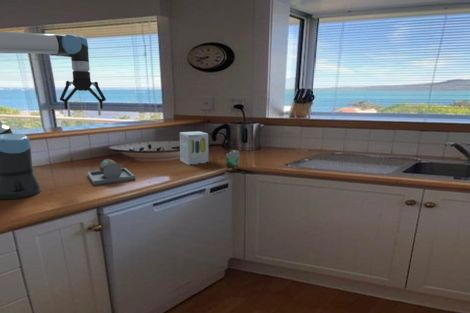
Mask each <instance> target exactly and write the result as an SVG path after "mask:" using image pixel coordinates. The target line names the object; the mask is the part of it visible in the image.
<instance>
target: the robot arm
mask: <svg viewBox="0 0 470 313" xmlns="http://www.w3.org/2000/svg"><path fill="white" fill-rule="evenodd" d="M88 45H89V44H88V39H87V38H86V37H85V36H81V35H80V36H79V35H75V34H70V33H68V34H54V33H53V34H51V33H32V32H15V31H0V54H28V55H29V54H34V55H35V54H36V55H37V54H39V55H40V54H41V55H42V54H44V55H45V56H50V57H53V56H54V57H55V56H56V57H64V58H65V57H67V58H71V59H70V60H71V69H72V81H69V80H66V81H65V87H64V88H63V91H62V93H61V95H60V97H59V101H60V102H63V104H64V109H65V110H67V116H68V117H71V108H70V102H69V100H70V99H71V98H72V97H73V95H74V94H75V93H76V92H77V91H79V92H81V91H83V92H87V91H88V92H89V93H90V94H91V95H92V96H93V97H94V98H95V99H96V100H97V115H98V116H102V114H101V113H102V111H101V110H102V109H103V102H105V101H107V99H106V97H105V94H104V93H103V92H102V90H101V89H100V87H99V83H98V81H95V82H94V81H91V72H90V68H91V67H90V59H89V58H90V57H89V46H88ZM71 85H72V86H73V89H72V90H71V91H70V93H69V94H68V95H67V92H68V90H69V87H71ZM91 86H93V87H94V88H95V89H96V92H98V94H99V96H98V95H97V93H96V92H95V91H94V90H93V88H91ZM66 95H67V96H66ZM65 96H66V97H65ZM31 146H32V145H31V142H30V138H29V137H28V136H27V135H25V134H21V133H13V131H12V129H11V127H10V126H8V125H5V124H3V122H2V121H1V120H0V200H16V199H22V198H29V197H32V196H34V195H36V194H39V193H40V192H41V185H40V184H41V183H40V182H38V179H37V178H36V175H35V173H34V166H33V156H32V150H31Z"/></svg>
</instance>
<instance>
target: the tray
mask: <svg viewBox="0 0 470 313" xmlns="http://www.w3.org/2000/svg"><path fill="white" fill-rule="evenodd" d="M121 170H122V172H121V175H120V177H116V178H108V179H107V178H106V177H105V176H104V175H103V173H102V172H101V171H100V170H93V171H87V173H86V174H87V177H88V179H89V180H90V182H91V183H92V185H93V186H99V185H107V184H115V183H121V182H128V181H129V182H130V181H136V175H135V174H133V173H132V172H131V171H130V170H128V168H126V167H121Z"/></svg>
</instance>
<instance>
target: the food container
mask: <svg viewBox="0 0 470 313" xmlns="http://www.w3.org/2000/svg"><path fill="white" fill-rule="evenodd" d="M240 156H241V153H240V151H239V150H237V149H230V151H228V153H227V152H226V153H225V159H226V160H225V162H226V163H225V164H226V168H225V169H226V172H236V171H238V169H239V167H238V166H239V157H240Z"/></svg>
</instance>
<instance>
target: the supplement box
mask: <svg viewBox="0 0 470 313" xmlns="http://www.w3.org/2000/svg"><path fill="white" fill-rule="evenodd" d="M179 161H180V162H182V163H184V164H186V165H191V164H192V165H199V163H201V164H207V163H206V162H208V163H209V133H207V132H204V131H199V130H198V131H181V132H179Z"/></svg>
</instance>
